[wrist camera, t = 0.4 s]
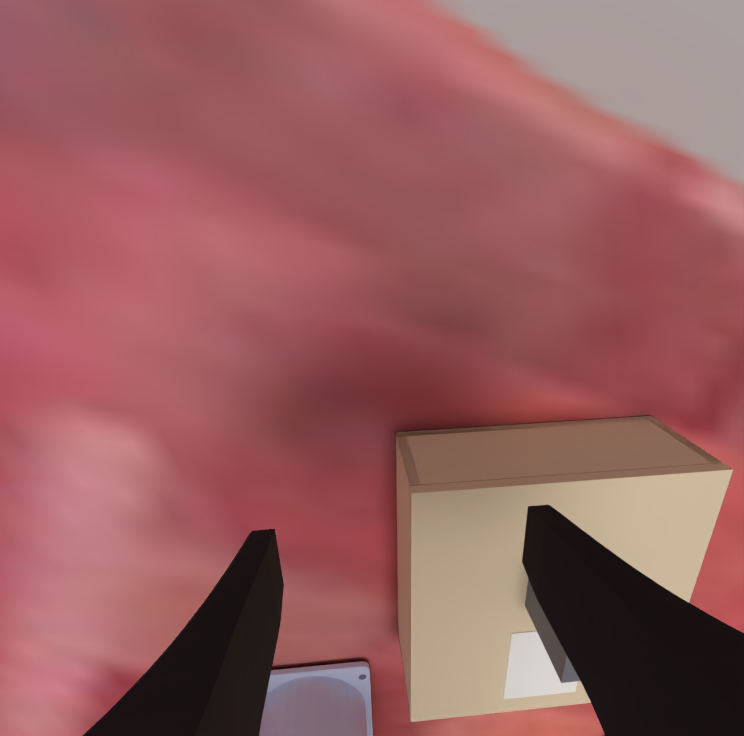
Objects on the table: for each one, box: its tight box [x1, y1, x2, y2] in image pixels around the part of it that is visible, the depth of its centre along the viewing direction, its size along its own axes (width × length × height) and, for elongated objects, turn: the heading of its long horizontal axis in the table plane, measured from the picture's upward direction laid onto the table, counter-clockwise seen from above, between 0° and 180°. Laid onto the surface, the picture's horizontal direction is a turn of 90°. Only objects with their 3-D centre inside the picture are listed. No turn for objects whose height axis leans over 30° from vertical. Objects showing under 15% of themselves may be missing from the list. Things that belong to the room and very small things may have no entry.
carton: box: [396, 416, 722, 706], centre depth 23 cm, size 15×14×4 cm
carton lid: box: [409, 463, 733, 722], centre depth 19 cm, size 15×14×4 cm
